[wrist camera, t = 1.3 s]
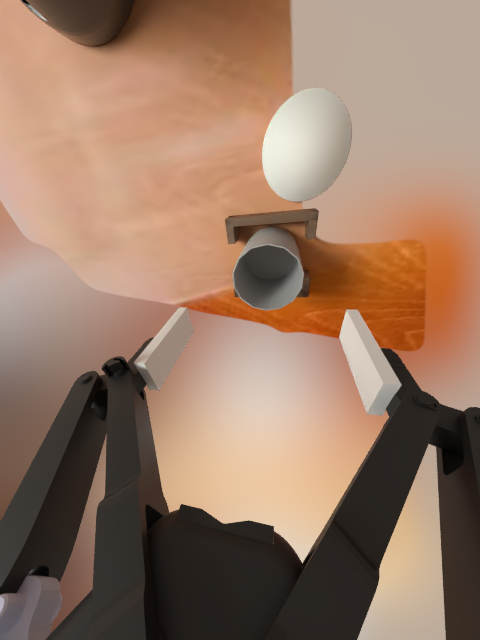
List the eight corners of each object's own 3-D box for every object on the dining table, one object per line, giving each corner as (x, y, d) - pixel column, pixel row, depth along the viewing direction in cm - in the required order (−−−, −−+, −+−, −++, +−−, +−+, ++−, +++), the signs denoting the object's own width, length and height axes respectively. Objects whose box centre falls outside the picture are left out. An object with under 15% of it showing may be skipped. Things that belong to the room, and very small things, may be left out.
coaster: (260, 99, 21) (260, 98, 21) (361, 78, 19) (362, 77, 19) (263, 205, 27) (263, 205, 26) (340, 197, 25) (341, 197, 24)
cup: (294, 219, 27) (299, 235, 19) (301, 273, 31) (307, 304, 23) (238, 235, 30) (222, 255, 22) (252, 283, 34) (242, 314, 26)
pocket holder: (230, 216, 28) (225, 219, 26) (315, 208, 26) (318, 211, 23) (238, 289, 35) (235, 296, 33) (306, 288, 33) (308, 296, 30)
